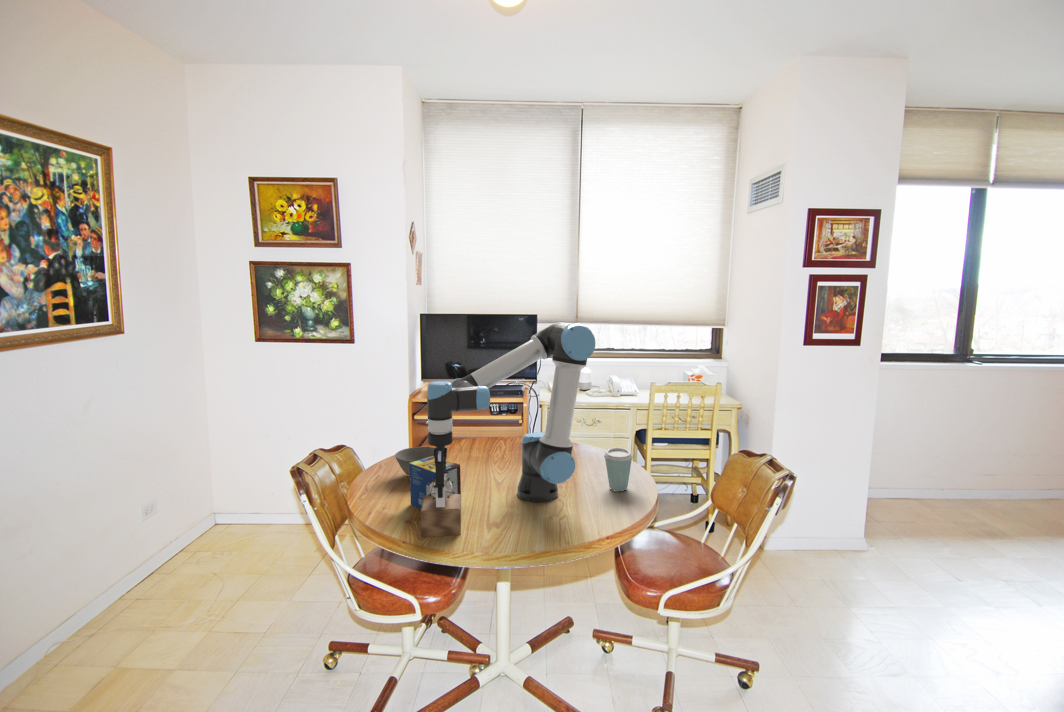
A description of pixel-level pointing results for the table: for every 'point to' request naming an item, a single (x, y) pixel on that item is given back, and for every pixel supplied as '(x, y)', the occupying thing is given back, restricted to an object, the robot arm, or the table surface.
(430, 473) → the protein box
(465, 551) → the table surface
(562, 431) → the robot arm
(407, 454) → the bowl
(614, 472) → the disposable coffee cup
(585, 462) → the table surface
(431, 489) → the game die
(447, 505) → the walnut block
